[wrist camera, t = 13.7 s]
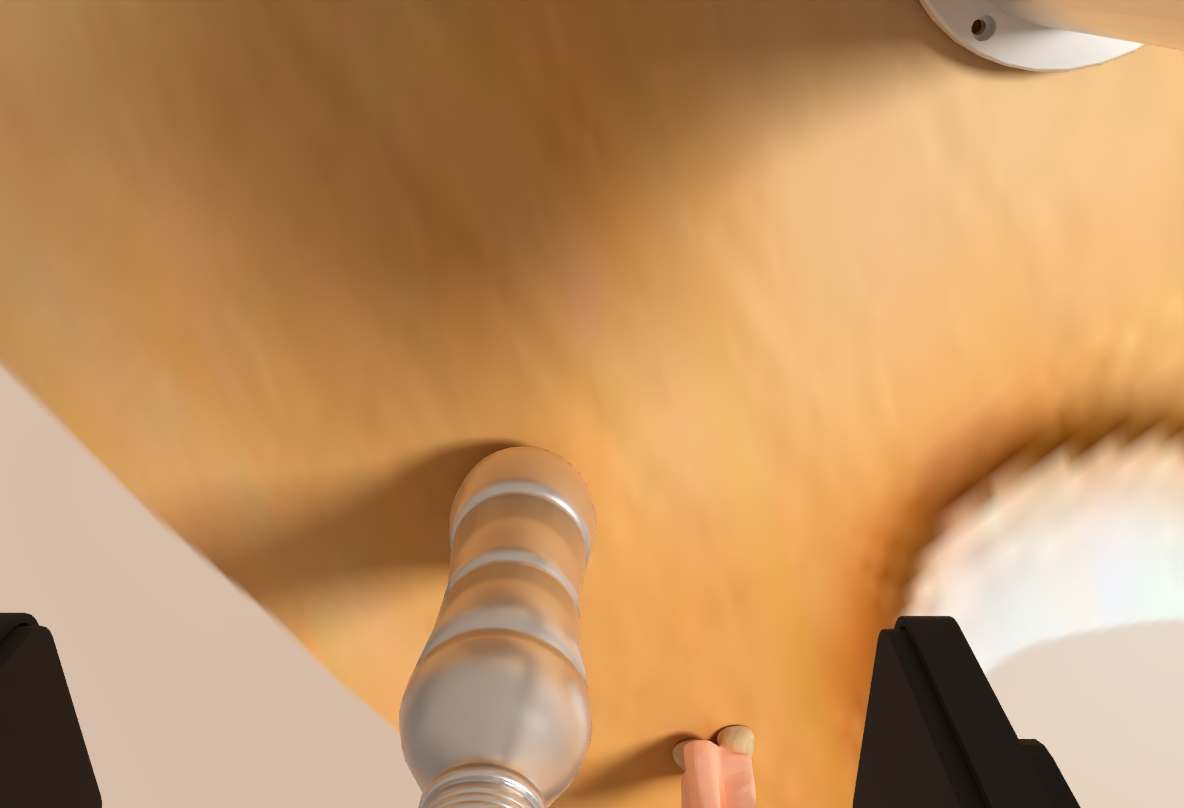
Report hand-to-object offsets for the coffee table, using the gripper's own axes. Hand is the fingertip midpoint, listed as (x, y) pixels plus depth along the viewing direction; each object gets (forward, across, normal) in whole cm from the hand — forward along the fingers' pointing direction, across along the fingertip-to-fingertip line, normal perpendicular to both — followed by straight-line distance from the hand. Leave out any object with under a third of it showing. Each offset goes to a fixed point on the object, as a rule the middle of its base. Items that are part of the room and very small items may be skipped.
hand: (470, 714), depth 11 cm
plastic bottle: (+31, +2, +15) cm, 34 cm away
